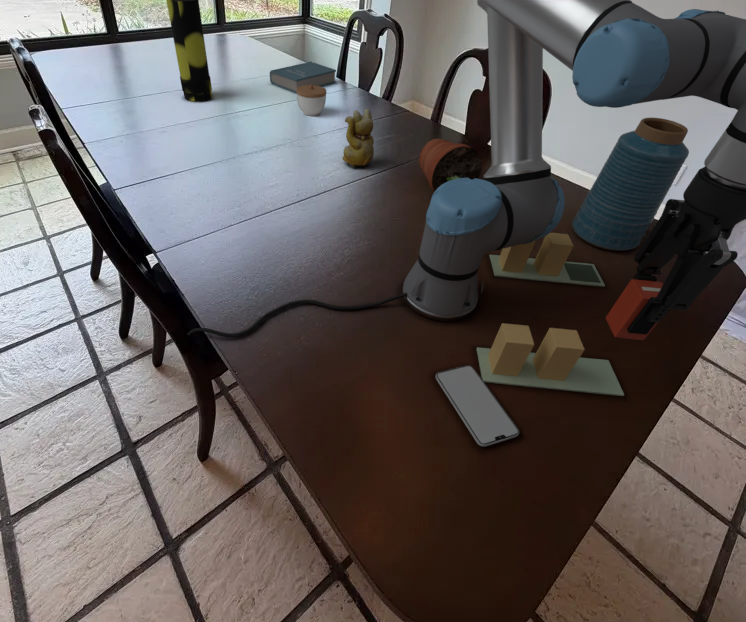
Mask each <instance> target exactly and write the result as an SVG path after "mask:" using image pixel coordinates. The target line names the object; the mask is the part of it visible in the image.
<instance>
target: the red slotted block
mask: <svg viewBox="0 0 746 622" xmlns="http://www.w3.org/2000/svg"><path fill="white" fill-rule="evenodd" d="M663 284H664V282H662V281H646V280H636V279H633V278H631V279H630V280H629V282H628V284H627V285H626V287H625V288H624V290H623V291H622V293H621V294H620V295H619V297H618V299H616V301H615V303H614V304H613V305H612V308H611V309H610V310H609V312H608V313H607V315H606V316H605V320H606V322H607V324H608V326H609V329H610V331H611V333H612V334H613V335H612V336H614V338H618V339H628V340H639V341H645V339H647V337H648V336H649V334H650V333H651V332H652V331H653V330H654V329H655V327H656V326H657V325H658V323H659V322H656V323H655V325H654V326H653V327H652V328H651V330H650V331H649V332H648V333H647V335H645V334H635V333H628V331H627V329H628V327H629V326H630V325H631V323H632V322H633V321H634V319H635V318H636V317H637V315H638V314H639V313H640V311H641V310H642V309H643V307H644V306H645V305H646V303H647V302H648V301H649V299H650V298H651V297H657V295H658V293H659V292H660V290H661V288H662V286H663Z"/></svg>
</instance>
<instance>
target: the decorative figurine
mask: <svg viewBox="0 0 746 622" xmlns="http://www.w3.org/2000/svg"><path fill="white" fill-rule="evenodd" d="M344 122H345V123H347V126H348V127H347V129H346V135H345V136H346V137H345V138H346V141H347V143H348V144H349V145H346V146H345V147H344V148H343V156H342V160H343V161H344V162H345V163H347V165H349V166H350V167H351V168H353V169H357V168H361V167H366V166H368V164H370V163H371V162H372V160H373V158H374V154H375V150H374V144H375V143H374V142H375V141H374V136H372V134H371V133H372V132H373V129H374V122H373V116H372V112H371V109H369V108H365V109H364V112H363V115H362V114H361V113H360V112H359V110H356V109H355V110H354V111H353V113H352V116H347V117H345V119H344Z"/></svg>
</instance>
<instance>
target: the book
mask: <svg viewBox="0 0 746 622" xmlns="http://www.w3.org/2000/svg"><path fill="white" fill-rule="evenodd" d="M336 72H337V69H335V68H331V67H328V66H326V65H322V64H319V63H316V62H313V61H307V62H304V63H298V64H294V65H289V66H285V67H281V68H277V69H271V70H270V71H269V82H270V84H271V85H274V86H275V87H278V88H280V89H284V90H286V91H289V92H290V93H294V94H296V95H297V92H296V89H297V88H298V87H300V86H304V85H310V84H313V85H316V86H320V87H323V88H324V87H327V86H330V85H335V84H336V83H337V82H336V78H335V77H336Z"/></svg>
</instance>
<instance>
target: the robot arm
mask: <svg viewBox="0 0 746 622" xmlns="http://www.w3.org/2000/svg"><path fill="white" fill-rule="evenodd" d="M476 4H477V6H478V7H479V8H481V9H482V10H483V11H484V12H485V13H486V16H487V17H486V19H487V20H486V21H487V47H488V48H487V51H488V55H487V56H488V85H489V87H488V88H489V89H488V91H489V114H490V115H489V123H490V156H491V157H490V159H491V161H490V162H491V165H490V167H489V168H488V170H487V171H486V172H485V173H484V174H483V179H482V178H478V179H477V178H475V179H473V180H471V179H469V178H459V179H454V180H451V181H448V182H446V183H444V184H442V185H441V186H440V187H438V188H437V190H436V191H435V192H433V194H432V195H431V199H430V201H429V202H430V203H429V206H428V207H427V210H426V214H425V223H424V229H423V234H422V238H421V243H420V247H419V253H418V257H417V259H416V261H415V263H414V264H413V266H412V267H411V269H410V271H409V272H408V274H407V275H406V277H405V279H404V281H403V284H402V290H401V293H400V294H396V295H394V296H390V297H388V298H385V299H382V300H380V301H376V302H371V303H367V304H361V305H360V304H359V305H348V306H347V305H346V306H345V305H335V304H329V303H326V302H323V301H319V300H314V299H313V300H312V299H300V300H294V301H290V302H287V303H285V304H282V305H280V306H278V307H276V308H274V309H272V310H270V311H268V312H267V313H264V315H262V316H261V317H260V318H259V319H257V321H256V322H254V323H253V324H252V325H251V326H250V327H248V328H246V329H244V330H242V331H239V332H235V333H234V332H233V333H230V332H223V331H220V330H215V329H212V328H208V327H195V328H192V329H191V330H189V331H188V332H187V334H186V335H187V336H192V335H194V334H196V333H199V332H201V333H209V334H211V335H216V336H218V337H223V338H239V337H243V336H245V335H247V334H249V333H251V332H253V331H254V330H255V329H256V328H258V327H259V325H261V323H263V322H264V321H265V320H267V318H269V317H270V316H272V315H274V314H277V313H279V312H281V311H282V310H284V309H287V308H289V307H291V306H292V307H293V306H297V305H303V304H312V305H317V306H321V307H324V308H328V309H332V310H337V311H338V310H339V311H354V310H355V311H356V310H363V309H369V308H374V307H379V306H381V305H384V304H387V303H390V302H393V301H396V300H399V299H403V301H404V303H405V304H406V305H407V306H408V307H409V308H410V309H411V310H412V311H413V312H414V313H416V314H418V315H419V316H422V317H423V318H427V319H429V320H433V321H439V322H455V321H461V320H463V319H466V318H468V317H469V316H471V314H473V313H474V311H475V309H476V307H477V304H478V302H479V301H478V300H479V281H478V280H479V279H478V272H479V269H480V266H481V263H482V260H483V258H484V255H486V254H487V253H491V252H495V251H499V250H502V249H504V248H507V247H511V246H515V245H519V244H527V243H530V242H533V241H535V242H536V241H537V240H539V239H542V238H545V236H546V235H548V234H549V233H552V232H553V230H554V229H555V228H557V226H558V225H559V223H560V221H561V220H562V217H563V214H564V210H565V203H566V198H565V193H564V189H563V188H562V186H560V182H558V180H557V179H555V178H554V177H552V165H550V163H548V162H547V161H546V160H545V159H544V158H543V90H544V89H543V88H544V87H543V86H544V85H543V78H544V77H543V75H544V74H543V73H544V71H543V67H544V50H545V51H546V52H547V53H549V54H550V55H551V56H552V57H554V58H555V59H556V60H558V61H559V62H560V63H561V64H563V65H564V66H565V67H567V68H568V69H569V70H571V71H572V84H573V85H574V88H575V91H576V96H577V97H578V99H580V100H581V101H582V102H583V103H584V104H587V105H588V106H591V107H595V108H611V109H612V108H613V109H614V108H615V109H617V108H624V107H628V106H633V105H637V104H643V103H650V102H655V101H665V100H670V99H671V100H672V99H679V98H684V97H685V98H687V97H691V96H692V97H697V98H701V99H703V100H704V99H705V100H707V101H710V102H713V103H716V104H719V105H722V106H724V107H726V108H730V109H733V110H737V111H736V113H735V114H734V116H733V118H732V120H731V121H730V123H729V124H728V125H727V127H726V128H725V130H724V131H723V132H722V134H721V136H720V137H719V138H718V141H717V142H716V143H715V145H714V146H713V147H712V149H711V150H710V152H709V153H708V155H707V156H706V157H705V159H704V162H703V165H704V166H703V167H701V168H699V169H698V170H697V172H696V174H695V175H694V176H693V178H692V179H691V181H690V182H689V184H688V185H687V187H686V188H685V190H684V191H683V194H682V195H683V199H674V198H669V199H668V200H667V201H666V203H665V205H664V208H663V211H662V213H661V215H660V217H659V219H657V221H656V223H655V224H654V226H653V228H652V229H651V231H650V233H649V234H648V236H647V237H646V238H645V240H644V242H643V243H642V245H641V246H640V248H639V249H638V251H637V252H636V254H635V256H634V259H633V260H634V263H637V267H636V273H635V274H634V276H633V277H632V279H636V280H646V281H656V282H658V278H657V277H656V276H655V275H657V276H660V275H662V271H661V269H663V268H664V267H665V266H666V265H667V264H668V263H669V262H670V261H671V260H672V259H673V258H674V257H676V255H677V258H676V260H675V261H674V263H673V265H672V267H671V269H670V271H669V272H668V275H667V277H666V278H665V280H664V282H663V286H662V288H661V290H660V292H659V293H658V295H657V297H651V298H650V299H649V301H648V302H647V303H646V305H645V306H644V307H643V309H642V310H641V311H640V313H639V314H638V315H637V317H636V318H635V319H634V321H633V322H632V323H631V325H630V326H629V327H628V329H627V331H628V333H635V334H645V335H647V333H648V332H649V331H650V330H651V328H652V327H653V326H654V325H655V323H656V322H658V323H660V322H661V321H662V320H663V318H664V317H666V315H667V314H668V313H669V311H670V310H674V311H684V312H685V311H687V310H688V309H689V308H690V307H691V306H692V304H693V303H694V302H695V301H696V300H697V299H698V297H699V296H700V295H701V294H702V293H703V292H704V290H705V289H706V288H707V287H708V286H709V285H710V283H712V281H713V280H715V278H716V277H717V275H718V274H719V273H720V272H721V271H722V270H723V269H724V268H725V267H727V266H728V265H730V264H731V263H733V262H734V261H736V260H737V258H738V252H737V251H736V250H730V248H729V245H728V242H727V241H728V240H729V239H730V237H731V235H732V232H733V229H734V228H735V226H737V224H739V223H740V222H743V221H745V220H746V18H742V17H738V16H734V15H731V14H730V15H729V14H727V13H726V12H724V11H720V10H705V9H700V8H692V9H687V10H683V12H680V14H679V15H678V16H677V17H674V18H662V17H659V16H657V15H655V14H654V13H652V12H650V11H648V10H647V9H646V8H644V7H641V6H640V5H638V4H636V3H634V2H633V1H632V0H476ZM480 288H481V290H480V294H482V293H483V291H484V279H483V280H482V282H481V287H480ZM647 336H648V335H647Z"/></svg>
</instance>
